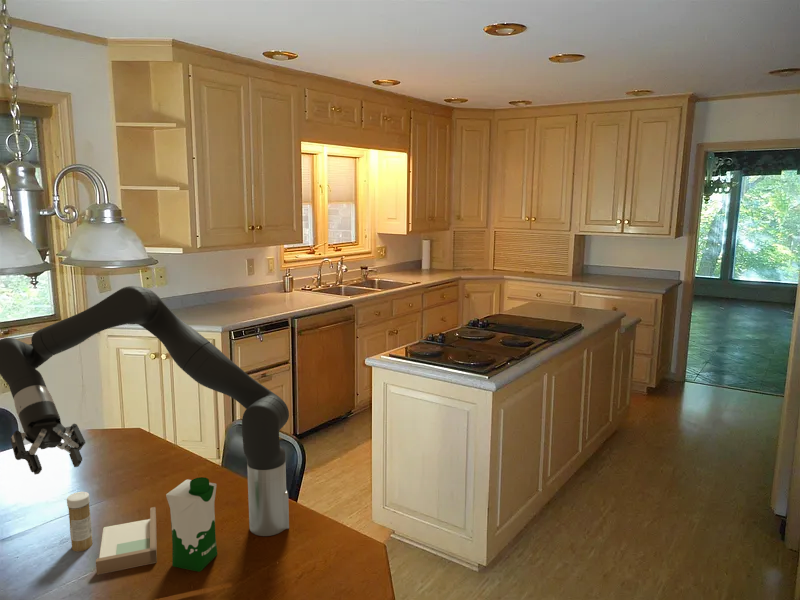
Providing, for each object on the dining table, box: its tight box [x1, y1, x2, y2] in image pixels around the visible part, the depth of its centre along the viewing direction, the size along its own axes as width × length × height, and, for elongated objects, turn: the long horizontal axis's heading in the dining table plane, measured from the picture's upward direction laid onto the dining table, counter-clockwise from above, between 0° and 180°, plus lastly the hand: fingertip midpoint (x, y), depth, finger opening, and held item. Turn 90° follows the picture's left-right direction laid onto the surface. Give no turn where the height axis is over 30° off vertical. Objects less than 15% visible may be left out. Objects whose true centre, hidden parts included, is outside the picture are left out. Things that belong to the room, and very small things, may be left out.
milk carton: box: [165, 476, 218, 573], centre depth 133 cm, size 9×9×20 cm
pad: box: [116, 538, 150, 555], centre depth 137 cm, size 7×7×1 cm
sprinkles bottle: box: [66, 491, 94, 552], centre depth 138 cm, size 5×5×13 cm
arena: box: [95, 506, 158, 575], centre depth 140 cm, size 12×20×4 cm, turn 22°
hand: (59, 468), depth 132 cm, fingers open, 8 cm apart
